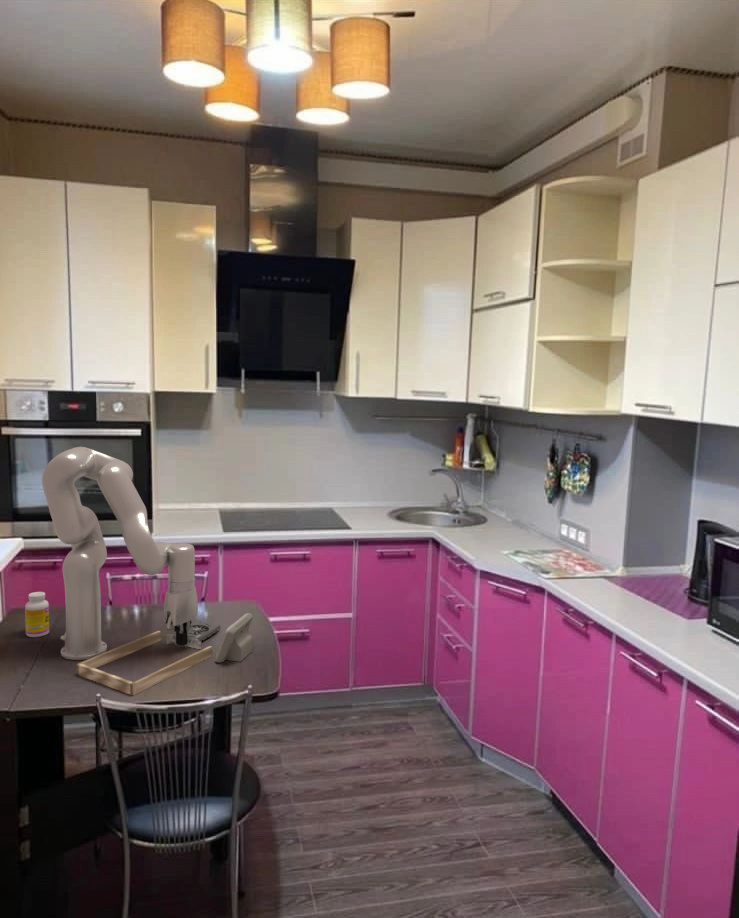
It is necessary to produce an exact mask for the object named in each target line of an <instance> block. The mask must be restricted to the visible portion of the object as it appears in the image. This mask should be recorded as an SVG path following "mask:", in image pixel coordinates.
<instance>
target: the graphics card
mask: <svg viewBox="0 0 739 918" xmlns="http://www.w3.org/2000/svg"><path fill="white" fill-rule="evenodd" d="M220 629H221V624H220V623H218V624H215V623H213V622H208V621H202V620H195V621H194V622H192V623H191V625H190V627H189V631H187V644H186V645H184V646H185V649H189V648H190V649H189V650H192V648H193V649H194V648H197V649H196V650H198V649H201V650H202V647H201V645H202V642H203V641H205V640H206V639H208V638H209V637H211V636H212V634H213V635H214V634H215V633H217V632H218V631H219V630H220ZM207 637H208V638H207ZM202 640H203V641H202ZM168 644H171V645H175V646H176V647H181V648H182V646H181V645H178V644H176V632H174V633H170V634H169V633H168V634H167V635H166V645H168ZM184 646H183V647H184ZM194 650H195V649H194Z"/></svg>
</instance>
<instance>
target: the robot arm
mask: <svg viewBox="0 0 739 918" xmlns="http://www.w3.org/2000/svg"><path fill="white" fill-rule="evenodd" d="M82 477H85V478H88V479H91V480H92V481H96V482H97V485H98V487H99V489H100V491H101V493H102V494H103V496H104V498H105V500H106V501H107V504H108V505H109V508H110V509H111V510H112V513H113V515H114V516H115V518H116V520H117V522H118V525H119V529H120V530H119V531H120V533H121V534H122V537H123V541H124V543H125V546H126V548H127V551H128V552H129V555H130V556H131V558H132V560H133V561H134V563H135V565H136V567H137V568H138V570H140V571H141V572H142V573H143V574H146V575H149V576H155V575H157V574H159V573H161V572H162V570H163V569H164V568H165V566H166V567H168V571H167V572H168V580H167V581H168V585H167V586H168V590H167V591H166V593H165V597H164V603H163V614H162V615H163V618H162V619H163V624H167V625H166V630H168V631H173V632H174V633H176V644H178V645H181V647H184V645H186V644H187V631H189V627H190V625H191V624H193V623H195V622H196V621H197V620H196V619H197V617H198V612H199V611H198V609H199V607H198V606H199V603H198V594H197V588H196V586H195V584H196V583H195V582H196V580H197V578H196V577H195V575H196V574H195V572H196V571H195V569H196V568H195V567H196V566H195V565H196V561H195V560H196V558H195V557H196V554H195V553H196V550H195V547H194V545H193V544H191V543H188V542H187V543H186V542H181V543H180V542H179V543H172V542H170V543H169V542H163V541H155V540H154V538H153V537H152V533H151V532H150V528H149V522H148V511H147V507H146V505H145V504H144V502H143V500H142V498H141V496H140V494H139V492H138V490H137V488H136V487H135V484H134V483H133V477H134V472H133V469H132V467H131V466H130V465H129V463H127V462H125V461H123V460H120V459H118V458H116V457H113V456H110V455H109V454H105V453H102V452H100V451H97V450H95V449H92V448H88V447H85V446H76V447H73V448H69V449H67V450H64V451H63V452H60V453H59V454H57V455H55V457H54V458H52V459H51V460H50V461H49V462H48V463H47V465H45V467H44V470H43V472H42V476H41V484H42V490H43V494H44V496H45V500H46V502H47V506H48V507H47V508H48V510H49V514H50V517H51V519H52V524H53V526H54V531H55V534H56V536H57V538H58V540H59V541H60V542H62V543H63V544H65V545H71V550H70V551H69V552H68V553H67V555H66V556H65V558H64V561H63V563H62V576H63V583H64V597H65V599H64V601H65V602H64V603H65V632H64V635H61V636H60V640H61V641H62V642H63V641H64V646H62V648H61V649H60V656H61V657H62V658H64V659H66V660H72V661H73V660H74V661H82V660H84V661H85V660H88V659H90V658H93V657H95V656H98V655H100V654H102V653H105V652H107V650H108V645H107V643H106V642H105V641H103V640H102V602H101V601H102V599H101V598H102V597H101V595H102V594H101V583H100V582H101V581H100V576H99V575H100V573H99V572H100V570H101V568H102V567H103V566H104V564H105V562H106V560H107V557H108V552H107V550H108V549H107V546H106V543H105V539H104V536H103V532H102V529H101V525H100V523H99V519H98V516H97V515H96V513H95V512H94V511H93V510H92V509H90V508H89V507H87V506H85V505H83V504H82V502H81V498H80V497H81V496H80V494H79V492H78V489H77V487H76V486H75V483H76V481H77V480H78V479H80V478H82Z"/></svg>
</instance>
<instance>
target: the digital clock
mask: <svg viewBox="0 0 739 918" xmlns="http://www.w3.org/2000/svg"><path fill="white" fill-rule="evenodd" d="M253 618H254V616H253V614H252V613H250V612H247V613H244V614H243V615H242V616H240V617H239V619H237V620H236V621H234V623H232V624H231V625H229V626H228V627H227V628H226V630H225V631H224V634H223V636H222V639H221V641H220V643H219V646H218V649H217V652H216V655H215V658H214V659H215V662H216V663H220V664H221V663H223V662H225V661H226V660H227V661H233V662H242V661H243V660H244V659H245V658H246V657H247V656H248V655H249V654H250V653H252V651H253V650H254V636H253V634H251V633H250V631H249V629H250V626H251V625H252V622H253Z"/></svg>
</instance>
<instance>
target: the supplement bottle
mask: <svg viewBox="0 0 739 918" xmlns="http://www.w3.org/2000/svg"><path fill="white" fill-rule="evenodd" d="M45 598H46V592H44V591H35V592H30V593H28V602H26V603H25V605H24V608H25V610H24V611H25V613H24V614H25V634H26V636H27V637H29V638H40V637H43V636H46V635H48V634H49V633H50V604H49V603H50V602H48V600H46V599H45Z"/></svg>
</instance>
